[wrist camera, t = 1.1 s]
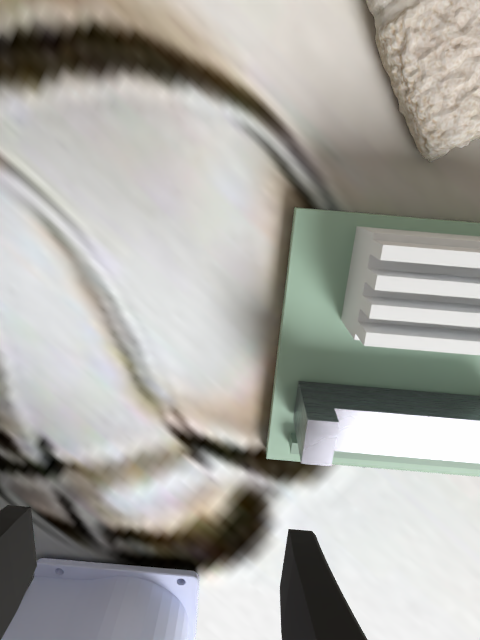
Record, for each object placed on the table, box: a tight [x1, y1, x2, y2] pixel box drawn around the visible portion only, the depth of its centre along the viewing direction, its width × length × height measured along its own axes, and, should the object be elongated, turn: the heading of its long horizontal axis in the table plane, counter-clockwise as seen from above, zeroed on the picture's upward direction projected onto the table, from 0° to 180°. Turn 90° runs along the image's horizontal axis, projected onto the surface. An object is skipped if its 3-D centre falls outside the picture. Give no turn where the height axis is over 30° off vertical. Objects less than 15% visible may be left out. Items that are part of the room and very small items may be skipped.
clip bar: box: [293, 381, 480, 466], centre depth 17 cm, size 9×2×3 cm, turn 86°
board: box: [266, 207, 480, 477], centre depth 17 cm, size 16×12×4 cm
